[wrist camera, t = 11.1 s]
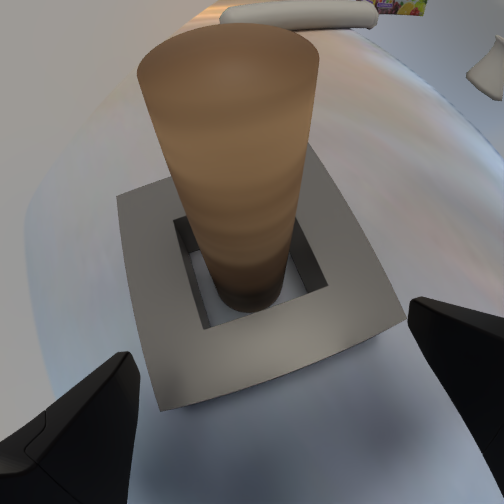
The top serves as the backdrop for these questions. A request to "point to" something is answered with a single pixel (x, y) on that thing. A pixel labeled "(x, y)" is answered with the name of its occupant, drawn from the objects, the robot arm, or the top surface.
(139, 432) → the top surface
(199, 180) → the tall pin
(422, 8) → the snack box
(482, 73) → the flask
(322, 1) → the tube
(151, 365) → the grey square socket block
